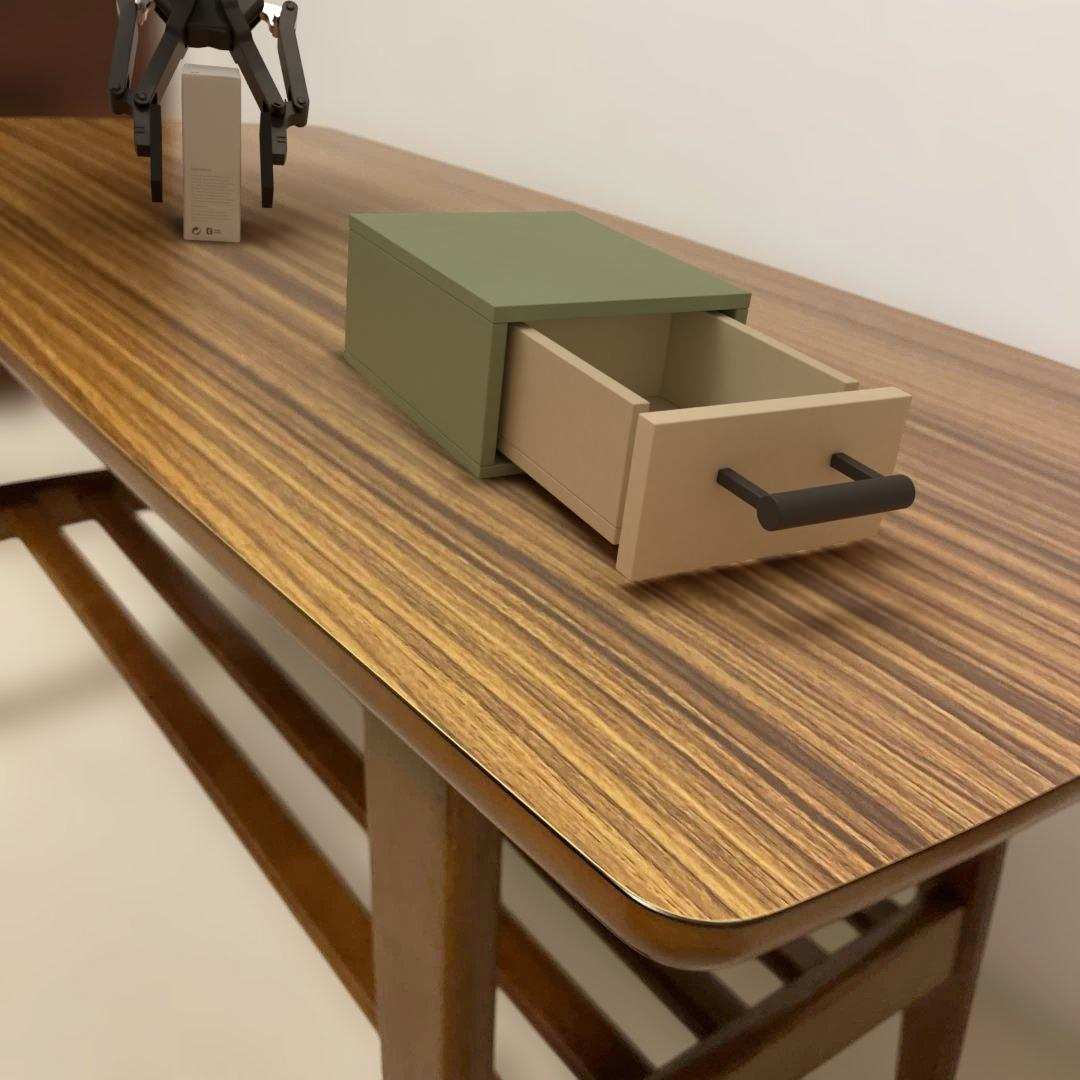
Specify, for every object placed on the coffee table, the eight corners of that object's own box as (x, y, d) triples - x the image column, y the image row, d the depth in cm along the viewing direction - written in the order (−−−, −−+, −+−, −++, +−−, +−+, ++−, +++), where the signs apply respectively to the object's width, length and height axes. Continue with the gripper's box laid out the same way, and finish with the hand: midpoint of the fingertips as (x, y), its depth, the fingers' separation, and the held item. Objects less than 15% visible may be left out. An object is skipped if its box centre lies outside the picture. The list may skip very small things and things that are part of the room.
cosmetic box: (242, 245, 93) (241, 77, 88) (183, 242, 92) (179, 72, 87) (240, 226, 98) (240, 66, 93) (184, 223, 97) (181, 61, 92)
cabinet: (723, 451, 66) (752, 293, 62) (478, 482, 59) (494, 306, 55) (558, 346, 79) (574, 211, 75) (343, 361, 72) (348, 213, 68)
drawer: (945, 579, 52) (988, 431, 49) (691, 634, 46) (722, 467, 43) (670, 407, 68) (690, 287, 65) (452, 430, 62) (462, 297, 59)
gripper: (330, -11, 103) (345, 229, 97) (75, -37, 98) (72, 216, 91) (339, -80, 96) (355, 173, 90) (65, -111, 91) (61, 156, 84)
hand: (212, 194), depth 91 cm, fingers open, 7 cm apart
